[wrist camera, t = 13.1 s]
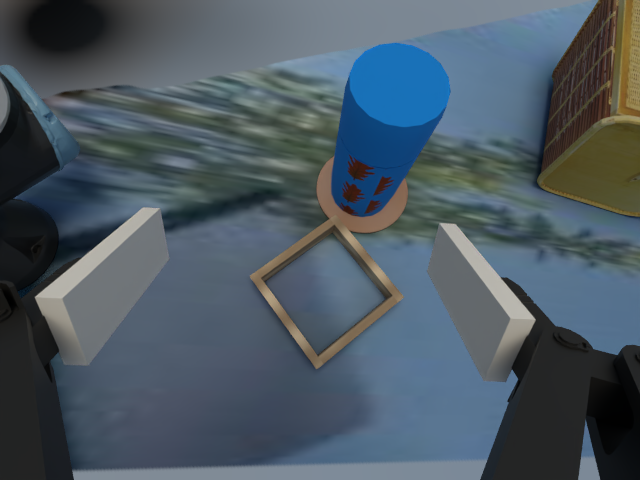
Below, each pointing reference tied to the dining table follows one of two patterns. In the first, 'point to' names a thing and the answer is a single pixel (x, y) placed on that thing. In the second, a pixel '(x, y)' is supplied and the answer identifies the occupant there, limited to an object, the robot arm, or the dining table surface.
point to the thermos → (385, 124)
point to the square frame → (363, 261)
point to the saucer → (353, 222)
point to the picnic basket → (597, 113)
